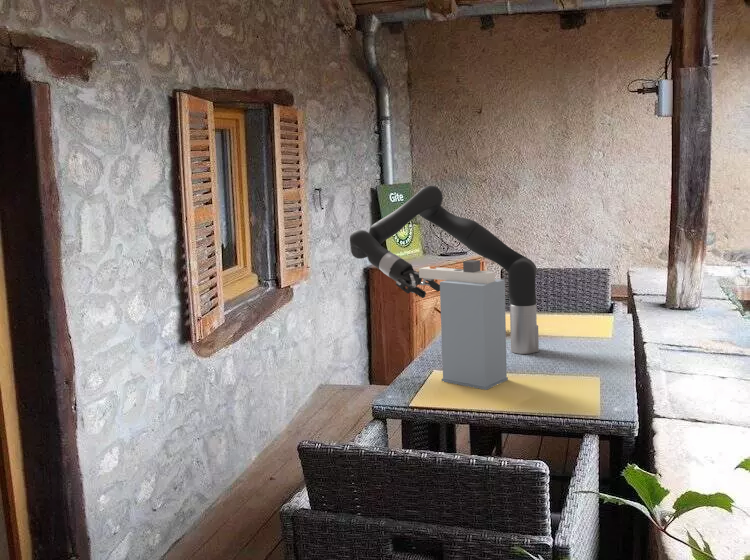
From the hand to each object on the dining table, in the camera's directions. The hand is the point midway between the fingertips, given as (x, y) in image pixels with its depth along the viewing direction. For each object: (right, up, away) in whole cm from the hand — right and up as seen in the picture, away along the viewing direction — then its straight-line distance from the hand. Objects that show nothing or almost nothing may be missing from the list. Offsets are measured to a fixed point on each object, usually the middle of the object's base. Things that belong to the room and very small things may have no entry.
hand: (432, 292), depth 251 cm
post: (+13, -28, -8) cm, 32 cm away
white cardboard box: (+7, +4, -9) cm, 12 cm away
